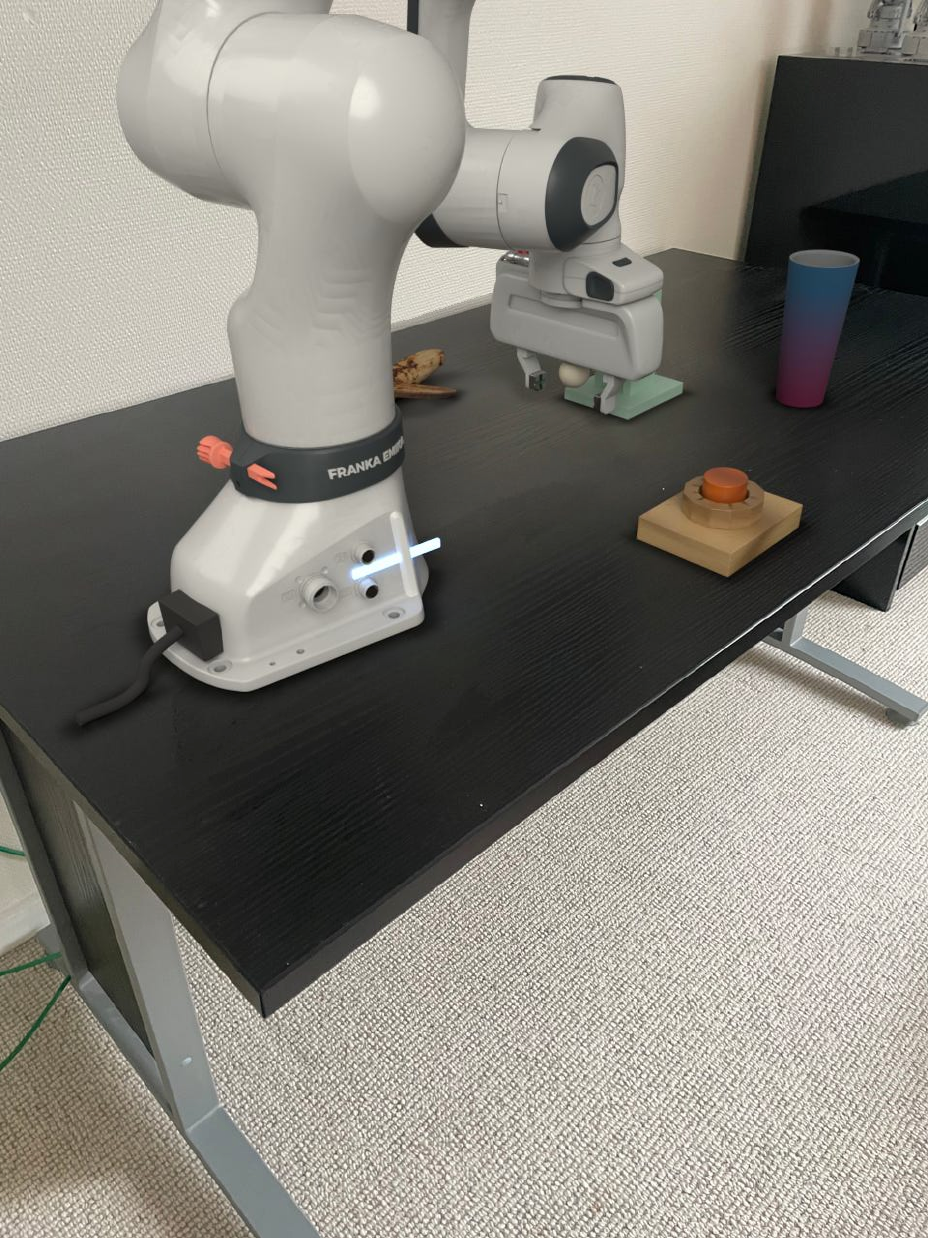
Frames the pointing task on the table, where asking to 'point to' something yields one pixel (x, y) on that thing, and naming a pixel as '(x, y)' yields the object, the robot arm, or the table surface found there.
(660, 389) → the lever base
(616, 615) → the table surface
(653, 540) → the button block
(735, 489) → the button
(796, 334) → the cup
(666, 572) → the table surface
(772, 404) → the table surface
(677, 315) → the table surface
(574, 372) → the lever
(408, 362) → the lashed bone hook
